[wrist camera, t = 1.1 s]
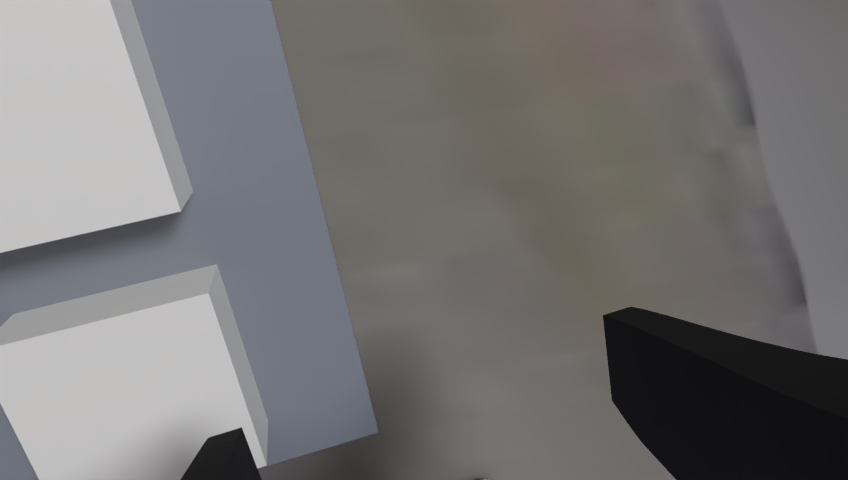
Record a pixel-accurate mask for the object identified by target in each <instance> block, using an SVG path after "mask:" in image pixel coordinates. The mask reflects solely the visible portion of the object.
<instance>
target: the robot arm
mask: <svg viewBox="0 0 848 480" xmlns="http://www.w3.org/2000/svg"><path fill="white" fill-rule="evenodd" d="M603 320H604V329H605V338H606V348H607V357H608V367H609V376H610V385H611V395H612V401H613V403H614V404H615V405H616V407H617V408H618V410H619V411H620V413H621V414H622V416H623V417H624V419H625V420H626V421H627V423H628V424H629V426H630V427H631V428H632V430H633V431H634V432H635V434H636V435H637V436H638V438H639V439H640V441H641V442H642V443H643V444H644V445H645V446H646V447H647V448H648V449H649V451H650V452H651V453H652V454H653V455H654V456H655V457H656V458H657V459H658V460H659V461H660V463H661V464H662V465H663V466H664V467H665V468H666V469H667V470H668V471H669V472H670V473H671V474H672V475H673V476H674V478H675V479H676V480H848V360H846V359H841V358H835V357H829V356H823V355H818V354H813V353H808V352H803V351H798V350H794V349H789V348H785V347H781V346H777V345H772V344H768V343H764V342H760V341H756V340H752V339H748V338H744V337H740V336H737V335H733V334H729V333H726V332H722V331H719V330H715V329H712V328H708V327H705V326H701V325H698V324H694V323H691V322H687V321H684V320H681V319H677V318H674V317H670V316H667V315H663V314H659V313H656V312H652V311H648V310H644V309H639V308H634V307H628V308H625V309H622V310H619V311H616V312H612V313H609V314H606V315H603ZM181 480H261V477H260V474H259V472H258V469H257V466H256V464H255V461H254V458H253V456H252V453H251V450H250V448H249V445H248V442H247V440H246V437H245V434H244V432H243V429H242V427H241V428H238V429H235V430H231V431H228V432H225V433H222V434H219V435H215V436H212V437H209V438H208V439H207V440H206V441H205V443H204V444H203V446H202V447H201V449H200V450H199V452H198V453H197V455H196V456H195V458H194V460H193V461H192V463H191V464H190V466H189V467H188V469H187V470H186V472H185V473H184V475H183V477H182V478H181ZM482 480H488V479H482Z"/></svg>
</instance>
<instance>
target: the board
mask: <svg viewBox="0 0 848 480" xmlns="http://www.w3.org/2000/svg"><path fill="white" fill-rule="evenodd" d="M131 2H132V5H133V8H134V11H135V14H136V17H137V20H138V23H139V26H140V29H141V32H142V35H143V39H144V42H145V45H146V48H147V51H148V54H149V57H150V60H151V63H152V66H153V69H154V72H155V75H156V78H157V81H158V85H159V88H160V91H161V94H162V97H163V100H164V103H165V106H166V109H167V112H168V115H169V118H170V121H171V124H172V127H173V131H174V134H175V137H176V140H177V143H178V146H179V149H180V152H181V155H182V158H183V161H184V164H185V167H186V170H187V174H188V177H189V180H190V183H191V186H192V189H193V193H192V194H191V196H190V198H189V199H188V201H187V202H186V204H185V206H184V207H183V209H182V211H181V212H176V213H172V214H168V215H163V216H159V217H155V218H150V219H146V220H141V221H137V222H133V223H128V224H124V225H120V226H115V227H111V228H107V229H102V230H98V231H93V232H89V233H85V234H80V235H76V236H72V237H67V238H63V239H59V240H54V241H50V242H45V243H41V244H37V245H32V246H28V247H24V248H19V249H15V250H11V251H6V252H2V253H0V327H1V326H2V325H3V324H4V323H5V322H6V321H7V320H8V319H9V318H10V317H11V316H12V315H13V314H16V313H20V312H24V311H28V310H32V309H36V308H40V307H44V306H48V305H53V304H57V303H61V302H65V301H69V300H73V299H77V298H81V297H85V296H89V295H93V294H97V293H101V292H105V291H110V290H114V289H118V288H122V287H126V286H130V285H134V284H138V283H142V282H146V281H150V280H154V279H158V278H163V277H167V276H171V275H175V274H179V273H183V272H187V271H191V270H195V269H199V268H203V267H207V266H211V265H215V264H217V266H218V269H219V272H220V275H221V278H222V281H223V284H224V287H225V290H226V293H227V296H228V299H229V302H230V305H231V309H232V312H233V315H234V318H235V321H236V324H237V327H238V330H239V333H240V336H241V339H242V342H243V345H244V348H245V351H246V355H247V358H248V361H249V364H250V367H251V370H252V373H253V376H254V379H255V382H256V385H257V388H258V391H259V394H260V397H261V401H262V404H263V407H264V410H265V413H266V416H267V419H268V441H267V466H270V465H273V464H276V463H279V462H283V461H286V460H289V459H293V458H296V457H299V456H303V455H306V454H309V453H312V452H316V451H319V450H322V449H326V448H329V447H332V446H336V445H339V444H342V443H345V442H349V441H352V440H355V439H359V438H362V437H365V436H369V435H372V434H375V433H378V428H377V424H376V420H375V416H374V412H373V408H372V404H371V400H370V396H369V392H368V388H367V384H366V380H365V376H364V372H363V368H362V364H361V360H360V356H359V352H358V348H357V344H356V340H355V336H354V332H353V328H352V324H351V320H350V316H349V312H348V308H347V304H346V300H345V296H344V292H343V288H342V284H341V280H340V276H339V272H338V268H337V264H336V260H335V256H334V252H333V248H332V244H331V240H330V236H329V232H328V228H327V224H326V220H325V216H324V212H323V208H322V204H321V200H320V196H319V192H318V188H317V184H316V180H315V176H314V172H313V168H312V164H311V160H310V156H309V152H308V148H307V144H306V140H305V136H304V132H303V128H302V124H301V120H300V116H299V112H298V108H297V104H296V100H295V96H294V92H293V88H292V84H291V80H290V76H289V72H288V68H287V64H286V60H285V56H284V52H283V48H282V44H281V40H280V36H279V32H278V28H277V24H276V20H275V16H274V12H273V8H272V4H271V0H131ZM264 467H266V466H264ZM260 468H263V467H260ZM260 468H257V469H260ZM0 480H39V479H38V477H37V475H36V473H35V471H34V469H33V467H32V465H31V463H30V461H29V459H28V457H27V455H26V453H25V451H24V449H23V447H22V445H21V443H20V441H19V439H18V437H17V435H16V433H15V431H14V429H13V427H12V425H11V423H10V421H9V419H8V417H7V416H6V414H5V412H4V410H3V408H2V406H1V404H0Z"/></svg>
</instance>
